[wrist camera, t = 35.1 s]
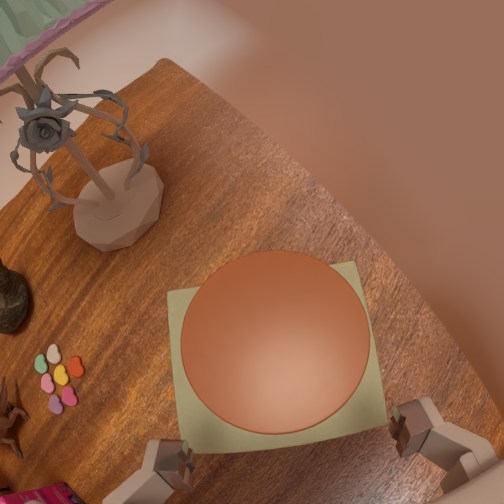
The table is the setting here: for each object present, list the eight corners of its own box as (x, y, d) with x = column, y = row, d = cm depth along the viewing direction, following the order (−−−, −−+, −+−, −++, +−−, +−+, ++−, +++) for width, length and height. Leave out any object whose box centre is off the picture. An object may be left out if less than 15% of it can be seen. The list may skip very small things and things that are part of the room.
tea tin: (313, 314, 18) (346, 236, 8) (326, 392, 16) (385, 411, 6) (233, 327, 19) (174, 264, 9) (243, 406, 16) (190, 442, 6)
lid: (186, 451, 16) (182, 454, 15) (170, 294, 21) (166, 290, 20) (384, 422, 15) (388, 423, 15) (352, 264, 20) (355, 259, 20)
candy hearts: (33, 359, 27) (31, 358, 27) (70, 331, 28) (69, 331, 28) (54, 417, 24) (52, 417, 24) (95, 394, 25) (94, 394, 25)
